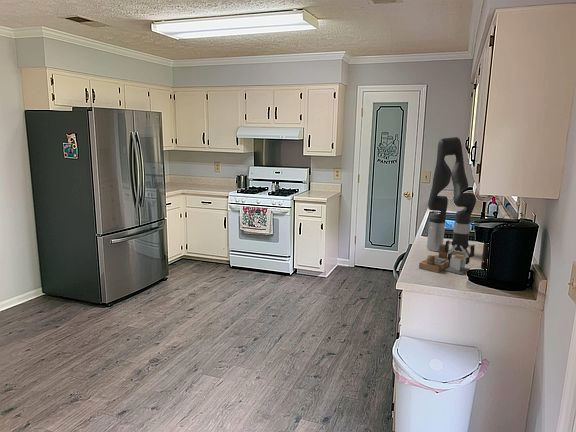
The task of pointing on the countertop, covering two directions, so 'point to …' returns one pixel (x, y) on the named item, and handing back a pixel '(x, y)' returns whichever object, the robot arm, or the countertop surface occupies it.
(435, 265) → the plane body
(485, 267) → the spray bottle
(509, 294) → the countertop surface
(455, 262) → the grey labelled box
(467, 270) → the rubber mat
